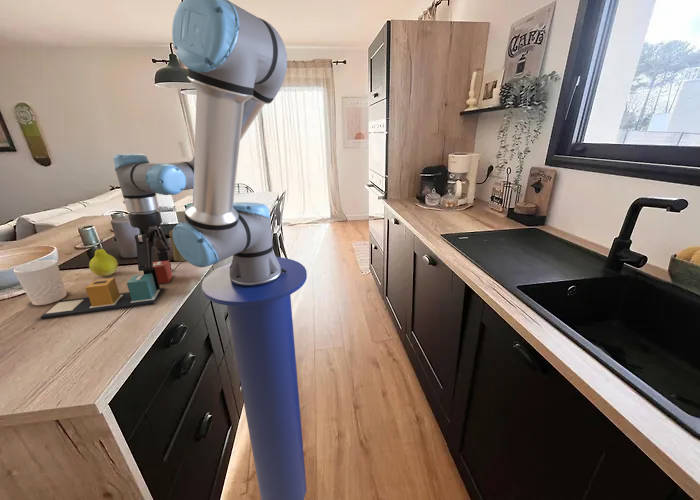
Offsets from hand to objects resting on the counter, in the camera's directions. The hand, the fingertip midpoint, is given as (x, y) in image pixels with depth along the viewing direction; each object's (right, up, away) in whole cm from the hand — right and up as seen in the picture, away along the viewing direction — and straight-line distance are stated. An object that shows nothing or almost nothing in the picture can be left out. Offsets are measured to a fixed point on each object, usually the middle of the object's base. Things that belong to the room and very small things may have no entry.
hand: (160, 279), depth 89 cm
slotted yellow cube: (-6, -4, -13) cm, 15 cm away
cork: (-3, +6, +17) cm, 18 cm away
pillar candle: (-23, +8, +21) cm, 32 cm away
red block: (+1, 0, 0) cm, 1 cm away
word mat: (-6, -5, -13) cm, 15 cm away
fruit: (-19, +1, +3) cm, 20 cm away
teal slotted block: (+3, -3, -10) cm, 11 cm away
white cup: (-23, -4, -11) cm, 26 cm away
